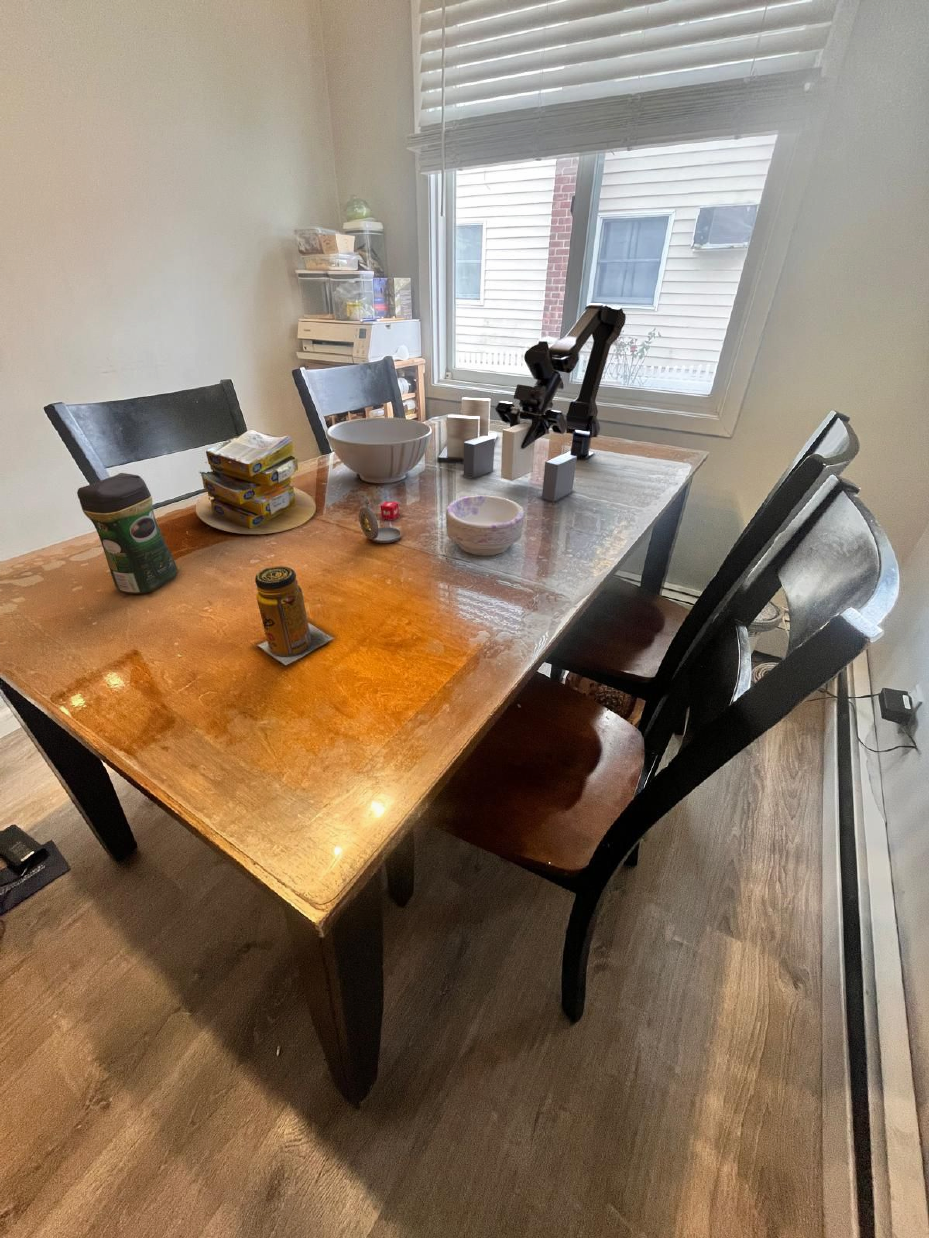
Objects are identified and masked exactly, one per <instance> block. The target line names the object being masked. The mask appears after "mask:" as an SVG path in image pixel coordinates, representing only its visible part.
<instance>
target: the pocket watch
mask: <svg viewBox="0 0 929 1238" xmlns="http://www.w3.org/2000/svg"><path fill="white" fill-rule="evenodd" d="M361 497H362V500H363V501H364V504H365V505H364V506H362V507H360V509H359V511H358V521H359V526H360V528H361V530H362V533H363V534H364V536H365V538H367V539H369V540H371V541H372V542H374V543H378V544H389V543H394V542H397V541H398V540H400V539H401V538H402V531H401V529H399V528H396V527H392V526H382V527H379V523H378V519H377V517H376V514H375V512H374V511H373V509H372V508H371V507H370V503H371V501H370V499H369V498H368V497H367V496H366V495H364V494H362V495H361Z"/></svg>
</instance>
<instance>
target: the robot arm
mask: <svg viewBox="0 0 929 1238" xmlns="http://www.w3.org/2000/svg"><path fill="white" fill-rule="evenodd" d="M626 319H627V316H626V313H625V312H624V310H623V308H621V307H611V306H607V305H605V304H604V303H589V304H587V305H586V306H585V308H584V311H583V313H582V314H581V316H580V317H579V318H578V320H577V321H576V322H575V324H574V325H572V328H571V329H570V330H569V331H568V333H567V334H566V335H565V336H564V337H563V338H561V339H558V340H557V341H555V342H554V343H552V344H551V345H549V343H548V341H547V340H539V341H538V343H536V344H535V345H532V346H531V347H530V348H528V350H526V351H525V353H524V355H523V359H524V363H525V364H526V366H527V368H528V370H529V372H530V375H531V376H532V378H533V379H534V380H536V382H535V383H534V385H533V386H531V385H526V384H516V387H515V390H514V394H513V399H514V400H517V401H519V402H518V405H519V407H520V408H522V409H519V408H518V407H516V406H515V405H514V403H513V402H509V401H504V400H500V401H498V402H497V404H496V405H495V408H494V410H495V412H496V413H497V416H498V417H499V418H500V420H501V421H502V422H503V423H505V424H509V427H512V426H515V425H518V424H521V423H522V421H523V420H524V421H529V422H531V423H530V424H531V427H530V429H529V431H528V433H527V435H526V437H525V439H524V441H523V443H522V445H521V447H522V449H524V448H526V447H527V446H529V445H530V444H531V443H533V442H534V441H535V442H536V441H537V440H539V439H540V438H542V437H543V436H545V435H550V433H551V432H550V429H552V432H553V434H558V435H564V434H565V433H566V434H571V442H570V443H571V444H570V450H569V451H568V452H566V453H565V454H569V455H573V456H577V459H583V460H585V459H588V458H590V457H591V456H592V455H594V452H593V451H591V445H592V439H593V438H598V436H599V434H600V431H601V426H600V423H599V420H598V418H597V417H598V413H599V410H598V406H597V402H596V400H597V396H598V393H599V388H600V386H601V381H602V378H603V374H604V370H605V368H606V367H605V366H606V362H607V361H608V356H609V353H610V349H611V346H612V345H613V344H614V343H615V342H616V340H617V339H619V337H620V335H621V332H622V330H623V328H624V326H625V324H626ZM590 337H592V346H591V350H590V354H589V357H588V361H587V365H586V368H585V372H584V376H583V379H582V384H581V387H580V390H579V394H578V396H577V398H576V399H575V400H571V401H570V402H569V405H568V409H567V413H566V415H565V416H564V414H563V412H562V411H561V410H555V409H552V408H553V406H554V402H553V399H554V398H555V396H556V394H557V392H558V390H563V389H564V387H565V385H564V382H563V379H564V378H563V377H562V375H561V373H563V374H571V373H572V372H573V371H574V369H575V368H576V366H577V364H578V362H579V360H580V355H579V353H580V351H581V350H582V348H583V346H585V344H586V343H587V341H588V340H589V339H590Z"/></svg>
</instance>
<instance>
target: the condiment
mask: <svg viewBox="0 0 929 1238" xmlns="http://www.w3.org/2000/svg"><path fill="white" fill-rule="evenodd" d="M254 583H255V586H256V591H257V592H256V603H257V606H258V609H259V613H260V617H261V621H262V626H263V631H264V635H265V638H266V640H265V641H264V642H262V643H261V642H260V643H259V644H257V646H258V647H259V648H261V649H262V650H263V651H264V652H265V653H267V654H268V655H270V656H271V657H272V658H274V659H275V660H276V661H278V662H280V663H282V665H284V666H288V665H290V664H291V663H294V662H296V661H298V660H299V659H300V658H301V659H302V658H303V657H305V656H306V655H309V653H311V652H313V651H315V650H316V649H318V648H320V647H322V646H323V645H325V644H327V643H328V642H330V641H332V640H334V639H335V637H333V636H332V635H330V634H327V633H326V632H324V631H323V630H321V629H320V628H317V627H316V626H314V625H312V623H310V622H309V620H308V615H307V609H306V603H305V600H304V599H305V598H304V594H303V590H302V588H301V586H300V585H299V582H298V579H297V574H296V572H295V570H294V569H292V568H290V567H288V566H284V565H283V566H282V565H279V566H278V565H276V566H270V567H266V568H264V569H262V570H261V571H259V572H258V573H257V574H256V575H255V579H254Z"/></svg>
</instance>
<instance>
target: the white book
mask: <svg viewBox="0 0 929 1238" xmlns="http://www.w3.org/2000/svg"><path fill="white" fill-rule="evenodd" d="M531 424H532V423H531V422H527V421H526V422H525V421H524V422H521V424H518V425H515V426H512V427H510V426H509V427H507V428H504V429H502V432H501V433H502V434H501V435H502V436H501V461H500V462H501V463H500V465H501V466H500V478H501V479H504V480H508V481H510V482H512V481H515V480H517V479H520V478H522V477H523V476H526V475H528V474H530V473H533V472H534V461H535V445H536V440H535V441H534V442H533V443H531V444H530V445H529V446H527V447H526V448H524V449H522V447H521V445H522V443H523V441H524V439H525V437H526V435H527V433H528V431H529V429H530V427H531Z"/></svg>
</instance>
